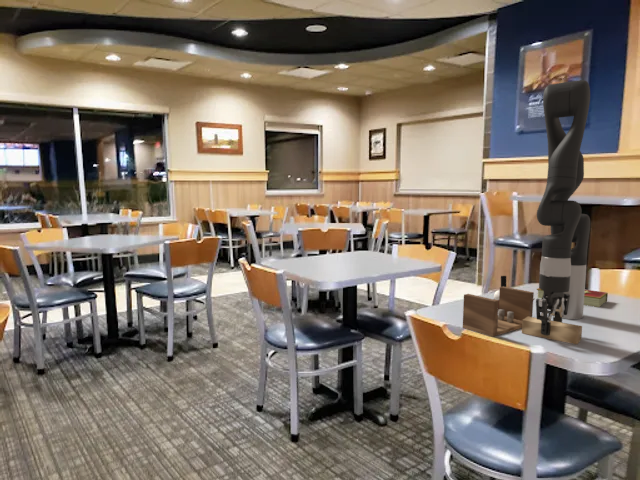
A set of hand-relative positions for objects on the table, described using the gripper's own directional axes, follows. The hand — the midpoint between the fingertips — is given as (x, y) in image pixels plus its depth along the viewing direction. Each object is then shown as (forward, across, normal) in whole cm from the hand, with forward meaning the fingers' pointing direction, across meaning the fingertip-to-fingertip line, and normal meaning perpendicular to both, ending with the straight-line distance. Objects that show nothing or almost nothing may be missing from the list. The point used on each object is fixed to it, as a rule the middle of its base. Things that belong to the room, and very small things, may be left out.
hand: (551, 332), depth 124 cm
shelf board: (+1, 0, 0) cm, 1 cm away
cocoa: (+1, -14, -24) cm, 28 cm away
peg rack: (+1, +4, -14) cm, 15 cm away
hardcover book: (+2, -49, -18) cm, 52 cm away
